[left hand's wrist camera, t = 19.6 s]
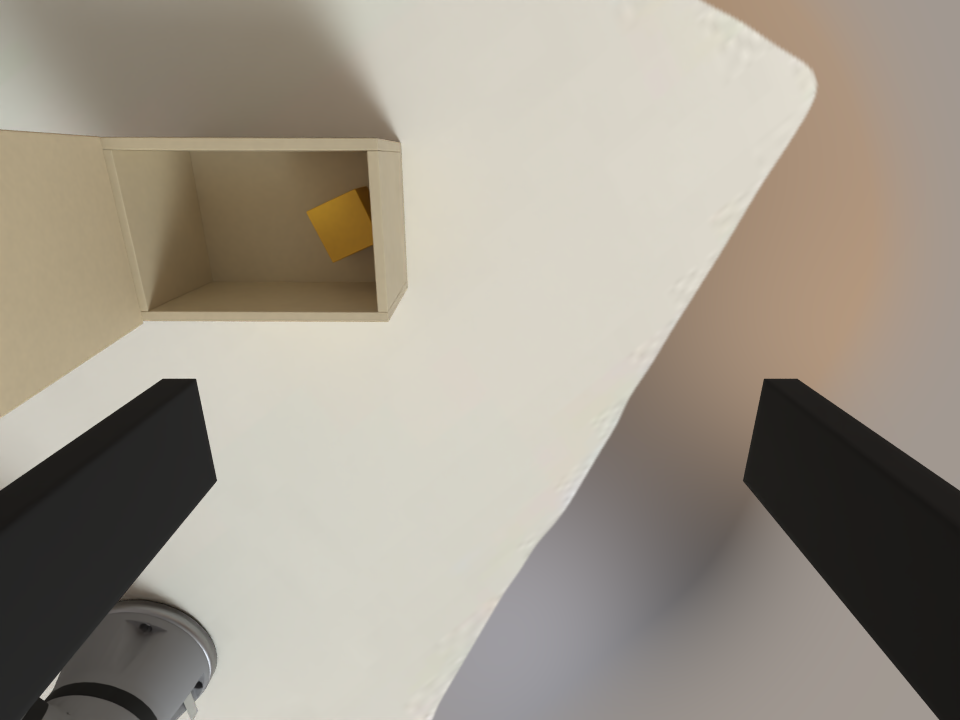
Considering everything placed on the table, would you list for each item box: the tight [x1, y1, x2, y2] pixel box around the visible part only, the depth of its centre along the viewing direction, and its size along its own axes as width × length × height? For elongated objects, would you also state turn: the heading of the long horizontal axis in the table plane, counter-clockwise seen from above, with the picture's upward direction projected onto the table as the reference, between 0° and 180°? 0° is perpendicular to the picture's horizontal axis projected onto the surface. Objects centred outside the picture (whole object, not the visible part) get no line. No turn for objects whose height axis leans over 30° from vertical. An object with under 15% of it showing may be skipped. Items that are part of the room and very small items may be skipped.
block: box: [306, 186, 373, 263], centre depth 42 cm, size 4×4×4 cm
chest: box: [100, 137, 408, 322], centre depth 39 cm, size 17×12×10 cm
